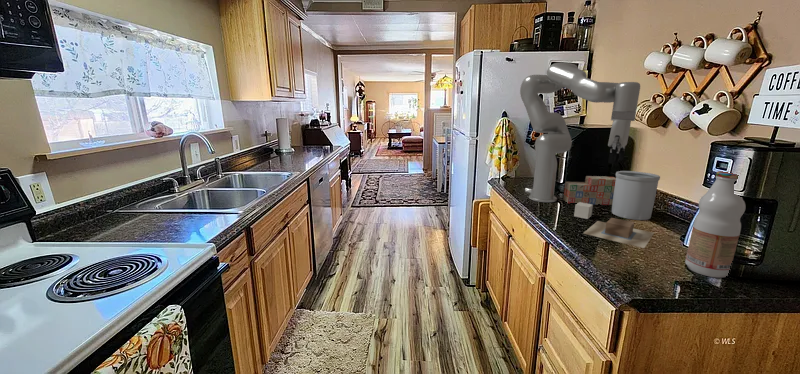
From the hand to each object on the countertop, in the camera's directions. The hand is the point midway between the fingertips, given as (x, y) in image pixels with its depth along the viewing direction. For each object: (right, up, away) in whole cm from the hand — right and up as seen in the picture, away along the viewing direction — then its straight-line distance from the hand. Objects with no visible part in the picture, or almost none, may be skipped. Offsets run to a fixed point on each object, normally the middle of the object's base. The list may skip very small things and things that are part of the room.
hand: (615, 161), depth 131 cm
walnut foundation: (-6, -26, -11) cm, 29 cm away
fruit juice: (+3, -33, -36) cm, 49 cm away
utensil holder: (+13, -22, +11) cm, 28 cm away
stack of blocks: (+6, -17, +29) cm, 34 cm away
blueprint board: (-6, -27, -11) cm, 30 cm away
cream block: (-9, -23, +7) cm, 25 cm away
